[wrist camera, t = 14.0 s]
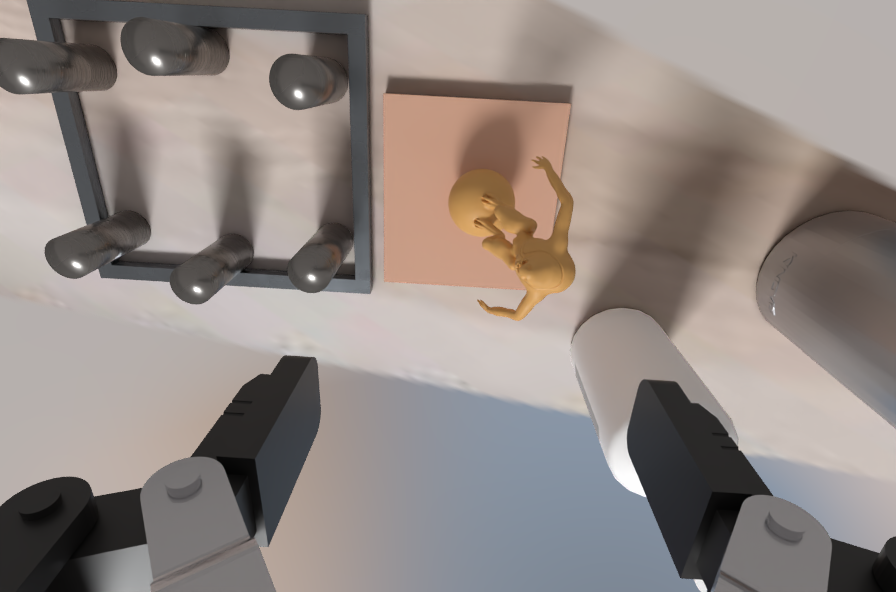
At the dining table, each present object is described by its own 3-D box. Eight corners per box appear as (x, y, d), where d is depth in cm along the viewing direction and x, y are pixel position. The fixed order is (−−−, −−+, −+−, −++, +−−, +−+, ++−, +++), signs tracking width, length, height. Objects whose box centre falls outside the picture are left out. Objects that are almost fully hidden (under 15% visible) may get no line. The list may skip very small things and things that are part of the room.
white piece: (565, 385, 38) (640, 626, 21) (572, 305, 35) (666, 512, 18) (655, 385, 37) (802, 629, 21) (670, 305, 34) (853, 514, 18)
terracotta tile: (568, 103, 29) (571, 103, 28) (542, 286, 34) (543, 291, 33) (385, 92, 29) (383, 93, 29) (386, 277, 34) (384, 281, 34)
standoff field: (367, 15, 28) (343, 1, 22) (372, 289, 35) (354, 329, 29) (37, -2, 28) (-68, -21, 22) (108, 273, 35) (42, 310, 30)
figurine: (472, 119, 29) (477, 147, 18) (566, 151, 30) (625, 198, 19) (431, 245, 32) (414, 333, 21) (516, 272, 33) (542, 370, 22)
